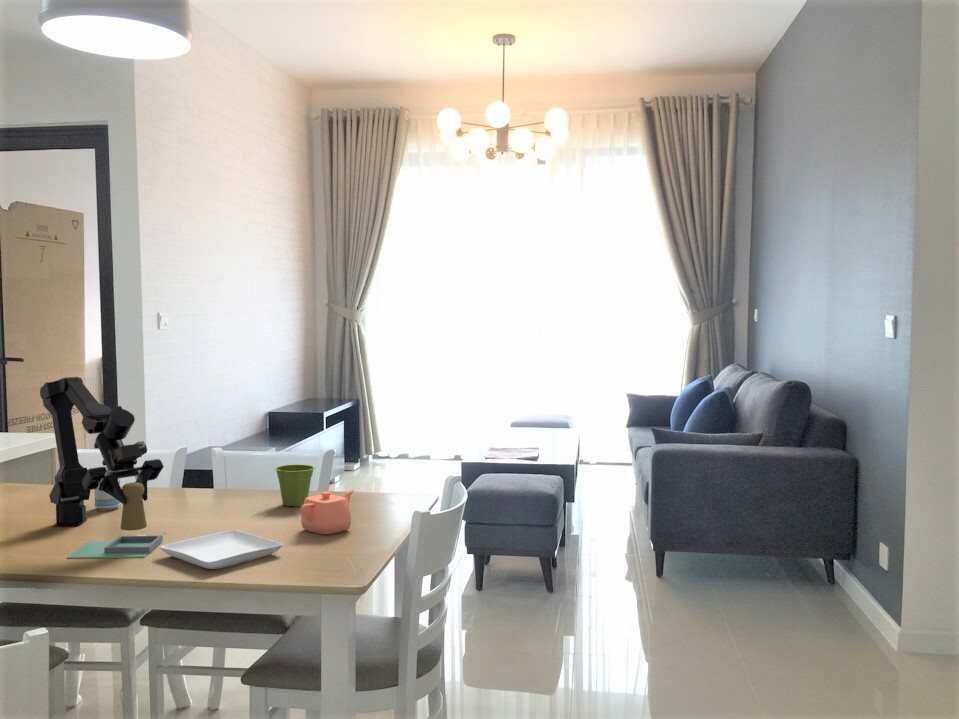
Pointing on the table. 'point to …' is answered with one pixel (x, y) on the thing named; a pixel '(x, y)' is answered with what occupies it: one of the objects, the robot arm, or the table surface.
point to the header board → (119, 547)
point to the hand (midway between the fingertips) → (135, 501)
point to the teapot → (326, 513)
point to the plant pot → (294, 483)
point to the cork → (133, 507)
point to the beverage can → (105, 499)
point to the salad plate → (222, 549)
